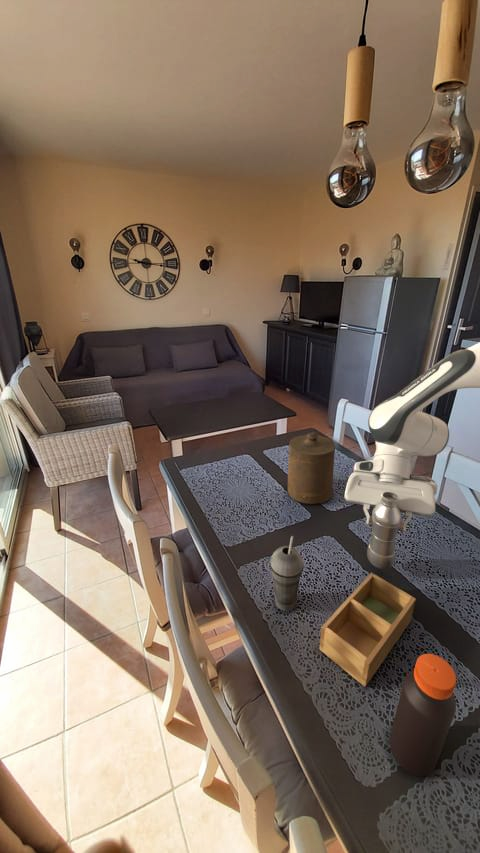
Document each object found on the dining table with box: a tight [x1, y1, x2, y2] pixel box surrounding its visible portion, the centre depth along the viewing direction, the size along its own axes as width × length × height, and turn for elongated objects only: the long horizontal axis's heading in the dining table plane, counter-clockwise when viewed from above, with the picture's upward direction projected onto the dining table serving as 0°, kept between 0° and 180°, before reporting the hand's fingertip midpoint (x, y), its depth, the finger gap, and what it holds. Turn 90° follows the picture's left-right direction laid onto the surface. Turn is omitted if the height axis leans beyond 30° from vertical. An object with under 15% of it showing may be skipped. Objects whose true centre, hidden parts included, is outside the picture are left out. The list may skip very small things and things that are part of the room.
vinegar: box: [389, 653, 457, 778], centre depth 53 cm, size 7×7×20 cm
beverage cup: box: [269, 535, 305, 612], centre depth 79 cm, size 7×7×20 cm
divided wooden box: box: [319, 572, 417, 688], centre depth 74 cm, size 10×19×7 cm, turn 133°
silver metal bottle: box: [366, 492, 403, 570], centre depth 86 cm, size 6×7×20 cm
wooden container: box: [287, 431, 336, 505], centre depth 119 cm, size 15×15×22 cm
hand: (385, 527), depth 85 cm, fingers closed on silver metal bottle, 6 cm apart
